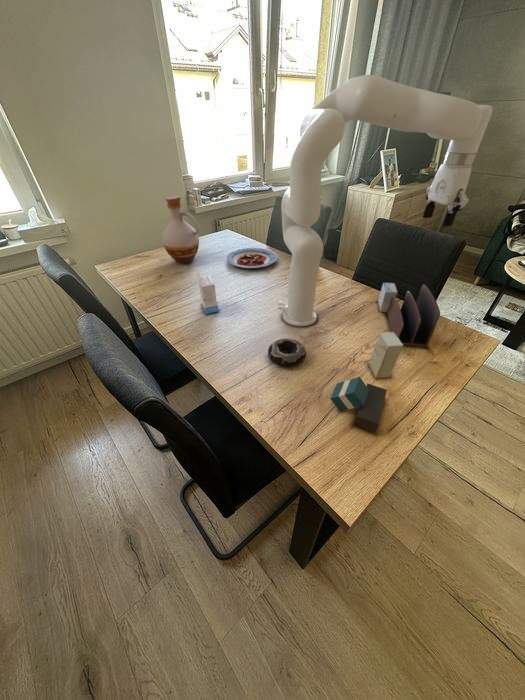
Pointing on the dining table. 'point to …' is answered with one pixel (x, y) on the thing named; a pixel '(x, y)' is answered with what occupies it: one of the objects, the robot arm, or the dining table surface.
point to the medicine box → (386, 296)
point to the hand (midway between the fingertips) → (436, 221)
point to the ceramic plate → (251, 258)
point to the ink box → (207, 294)
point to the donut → (287, 359)
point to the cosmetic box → (385, 354)
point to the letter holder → (414, 318)
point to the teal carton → (350, 394)
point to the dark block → (371, 409)
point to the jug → (180, 233)
